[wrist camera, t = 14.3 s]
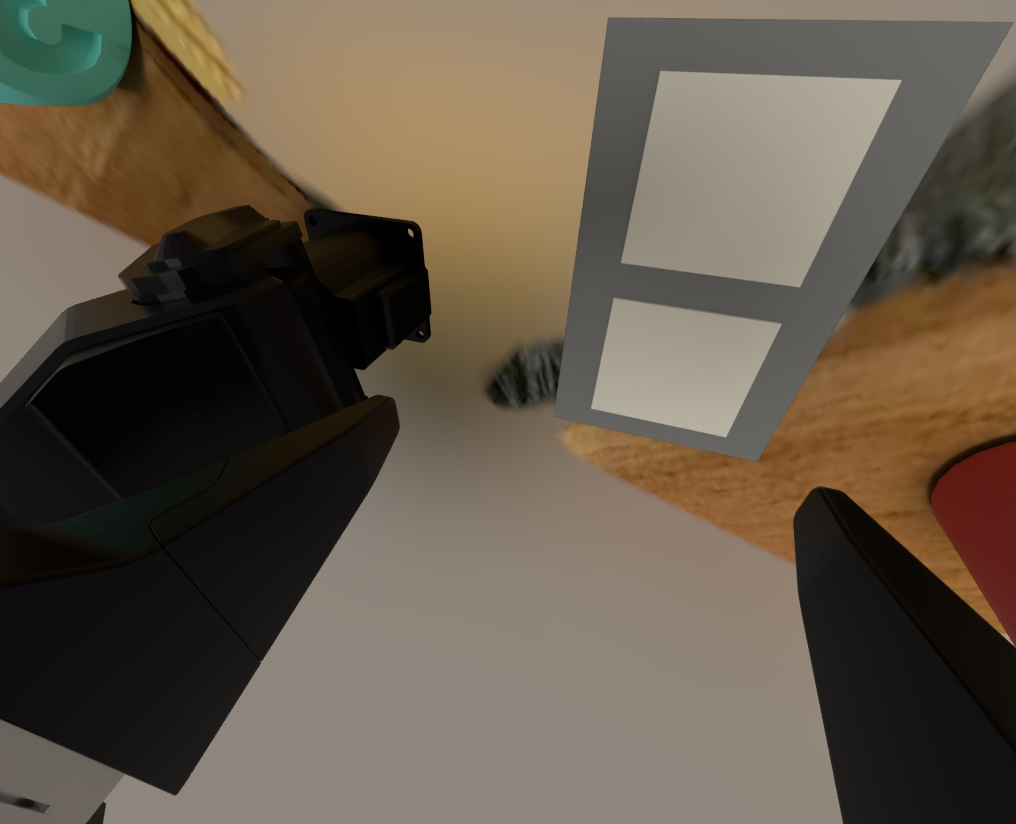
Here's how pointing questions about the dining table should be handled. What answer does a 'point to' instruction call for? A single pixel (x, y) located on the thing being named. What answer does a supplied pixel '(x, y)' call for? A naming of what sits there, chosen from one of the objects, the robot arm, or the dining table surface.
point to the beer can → (984, 524)
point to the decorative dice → (62, 50)
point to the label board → (744, 208)
